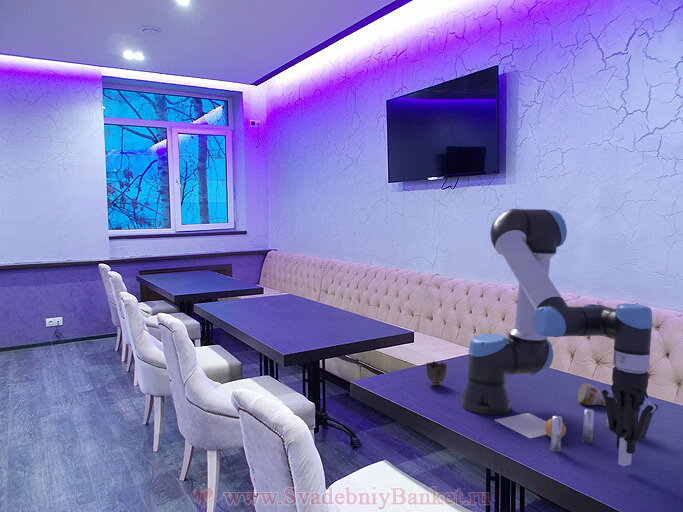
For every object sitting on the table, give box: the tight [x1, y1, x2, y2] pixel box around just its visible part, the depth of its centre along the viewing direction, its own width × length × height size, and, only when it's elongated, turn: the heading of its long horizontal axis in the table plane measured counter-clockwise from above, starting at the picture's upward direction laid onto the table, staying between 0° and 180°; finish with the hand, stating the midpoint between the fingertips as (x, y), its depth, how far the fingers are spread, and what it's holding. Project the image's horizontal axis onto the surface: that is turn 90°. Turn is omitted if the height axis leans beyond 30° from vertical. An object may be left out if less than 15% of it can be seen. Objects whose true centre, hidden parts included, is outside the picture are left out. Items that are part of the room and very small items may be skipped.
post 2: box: [582, 408, 595, 445], centre depth 137 cm, size 2×2×9 cm
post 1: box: [550, 415, 563, 453], centre depth 132 cm, size 2×2×9 cm
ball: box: [545, 418, 567, 439], centre depth 140 cm, size 6×6×6 cm
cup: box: [425, 360, 448, 387], centre depth 183 cm, size 8×7×8 cm
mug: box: [577, 382, 606, 407], centre depth 167 cm, size 8×10×10 cm
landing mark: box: [494, 412, 548, 440], centre depth 148 cm, size 14×14×1 cm
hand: (624, 463), depth 121 cm, fingers closed
